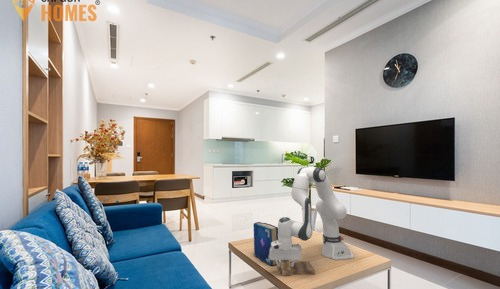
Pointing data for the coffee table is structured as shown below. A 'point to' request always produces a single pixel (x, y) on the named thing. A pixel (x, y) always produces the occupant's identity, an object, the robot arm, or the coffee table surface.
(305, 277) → the coffee table surface
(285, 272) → the block
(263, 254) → the book
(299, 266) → the board
